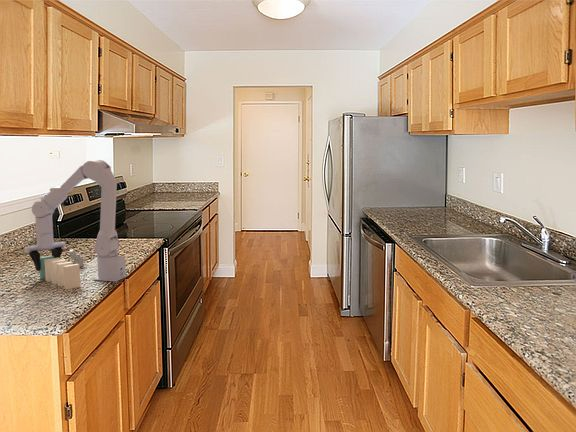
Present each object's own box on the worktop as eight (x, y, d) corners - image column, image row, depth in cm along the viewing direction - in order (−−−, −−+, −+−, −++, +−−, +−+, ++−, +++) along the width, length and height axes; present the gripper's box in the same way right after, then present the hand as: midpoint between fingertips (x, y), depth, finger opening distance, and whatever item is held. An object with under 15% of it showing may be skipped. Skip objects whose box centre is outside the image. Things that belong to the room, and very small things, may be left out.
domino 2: (67, 281, 196) (66, 260, 195) (53, 284, 192) (52, 262, 191) (65, 280, 197) (64, 259, 196) (51, 283, 193) (50, 261, 192)
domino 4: (80, 286, 189) (79, 264, 188) (66, 289, 186) (65, 266, 184) (78, 285, 190) (77, 263, 189) (64, 288, 187) (63, 266, 185)
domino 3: (73, 283, 193) (72, 262, 191) (59, 286, 189) (58, 264, 188) (71, 283, 194) (70, 261, 192) (57, 285, 190) (56, 263, 189)
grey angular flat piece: (79, 265, 221) (78, 246, 220) (83, 265, 221) (82, 246, 220) (69, 269, 214) (68, 249, 213) (73, 269, 214) (72, 250, 213)
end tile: (54, 276, 203) (53, 256, 201) (41, 279, 199) (40, 258, 198) (53, 276, 204) (51, 255, 203) (39, 278, 200) (38, 257, 199)
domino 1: (61, 279, 199) (59, 258, 198) (47, 281, 196) (46, 260, 194) (59, 278, 200) (58, 257, 199) (45, 280, 197) (44, 259, 195)
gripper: (59, 229, 207) (61, 263, 209) (20, 234, 196) (22, 270, 198) (67, 231, 202) (69, 266, 204) (28, 236, 192) (30, 273, 193)
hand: (46, 268), depth 201 cm, fingers open, 6 cm apart
